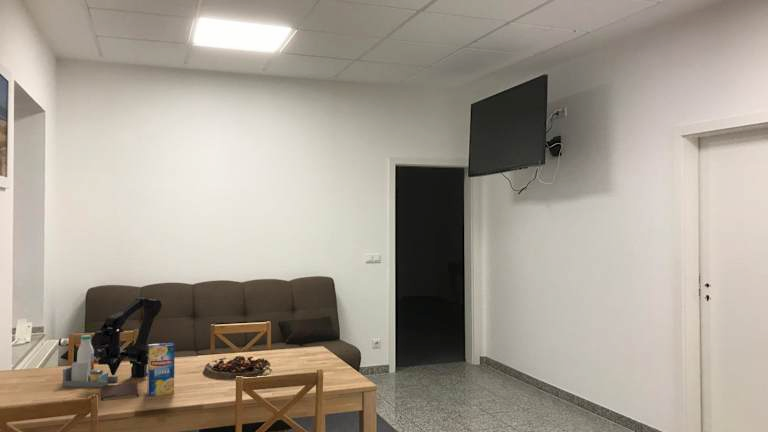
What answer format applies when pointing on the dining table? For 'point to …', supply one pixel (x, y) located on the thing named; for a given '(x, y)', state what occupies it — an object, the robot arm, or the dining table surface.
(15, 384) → the dining table surface
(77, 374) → the grey angular block
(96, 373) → the jar
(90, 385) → the lane
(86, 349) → the milk bottle
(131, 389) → the notebook
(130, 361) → the robot arm
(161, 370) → the blue yellow food box
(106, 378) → the bar
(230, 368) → the food dish
